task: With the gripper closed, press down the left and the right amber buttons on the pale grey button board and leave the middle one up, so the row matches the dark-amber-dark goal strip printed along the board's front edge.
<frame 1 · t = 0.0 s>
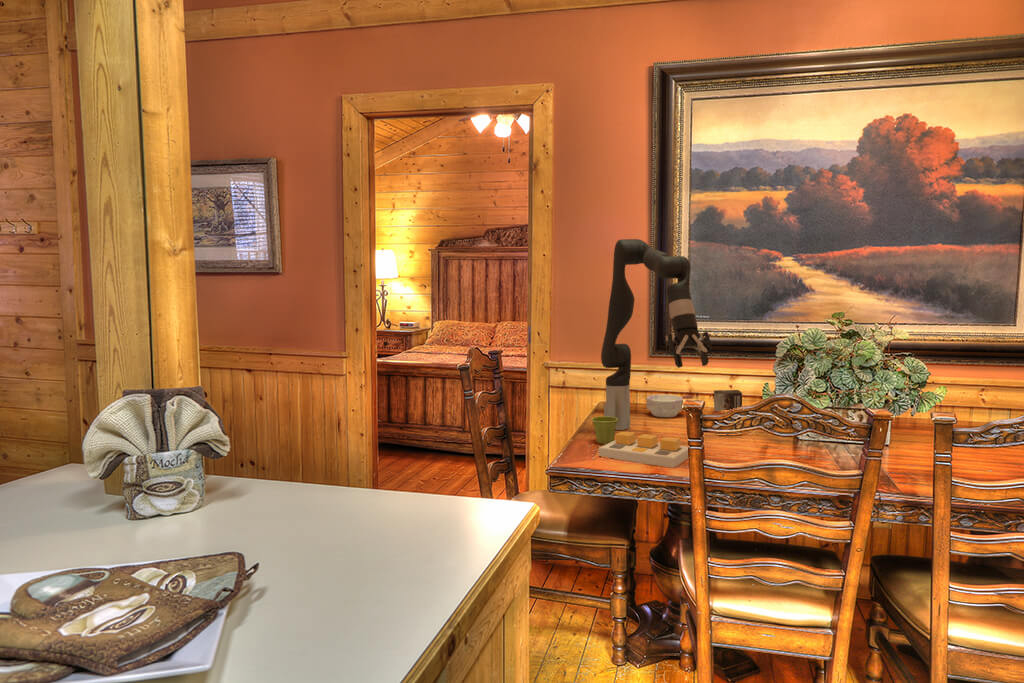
hand: (692, 366, 201), 31 cm above the table, tool tilted 20°, fingers open, 8 cm apart
coffee box: (728, 434, 244), on the table
light grey bowl: (664, 416, 279), on the table
button right: (670, 443, 213), point 5 cm above the table, slide at 0.0 cm
button left: (625, 438, 223), point 5 cm above the table, slide at 0.0 cm
plant pot: (605, 443, 236), on the table
button board: (645, 456, 217), on the table
button middle: (647, 440, 218), point 5 cm above the table, slide at 0.0 cm
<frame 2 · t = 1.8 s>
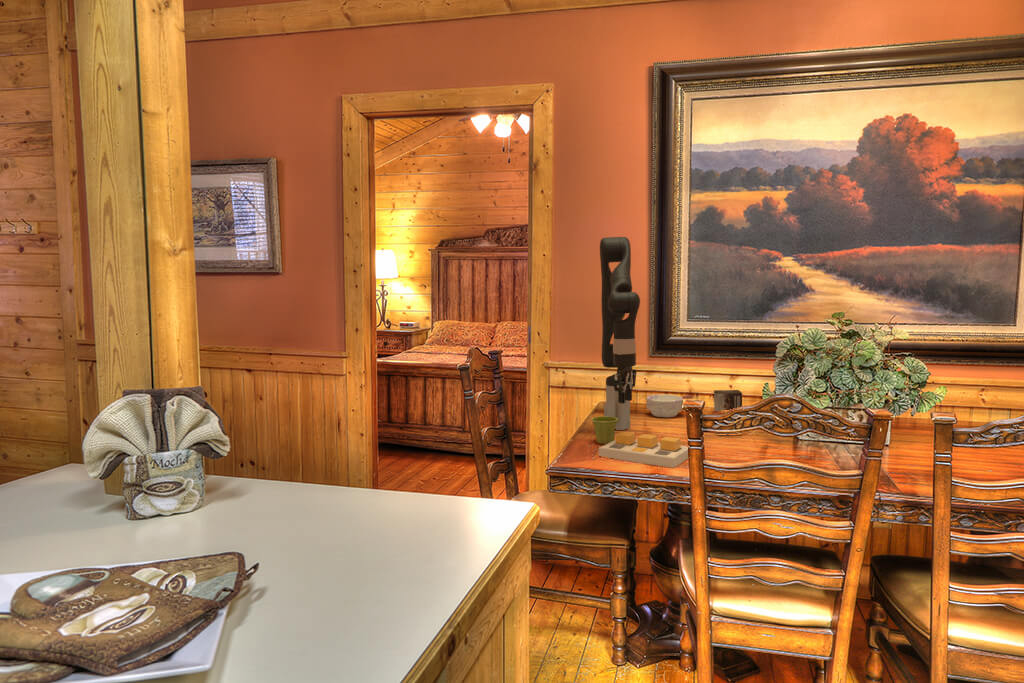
hand: (625, 401, 221), 17 cm above the table, tool pointing down, fingers open, 4 cm apart
nothing on the table moved.
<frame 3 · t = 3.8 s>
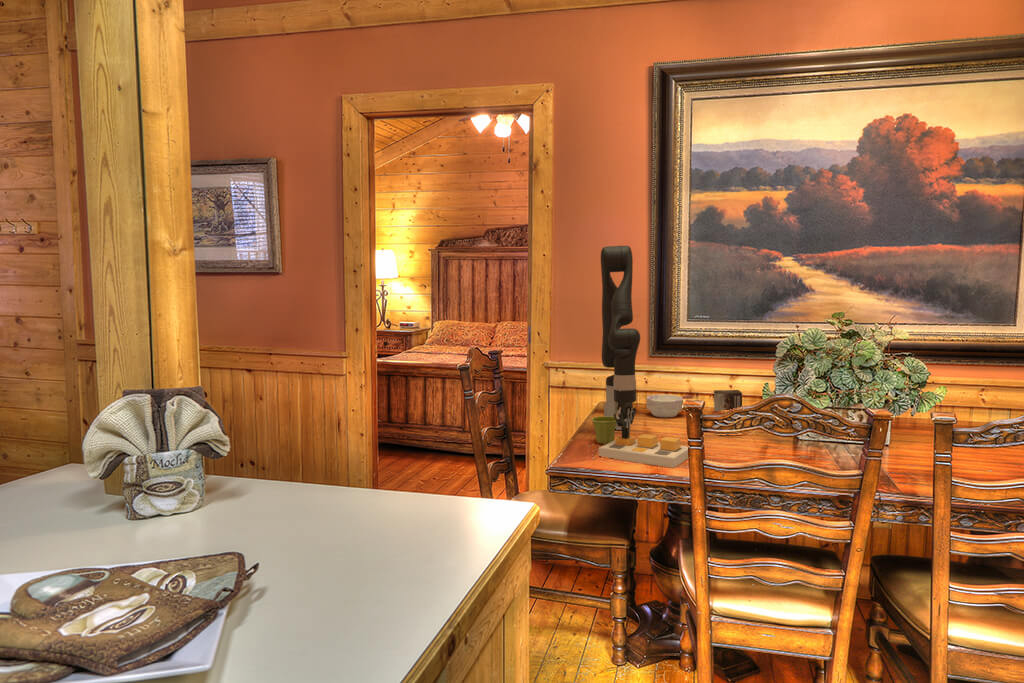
hand: (625, 437, 222), 5 cm above the table, tool pointing down, fingers closed
button left: (625, 442, 223), point 3 cm above the table, slide at 1.5 cm, touching gripper
everything else where it was.
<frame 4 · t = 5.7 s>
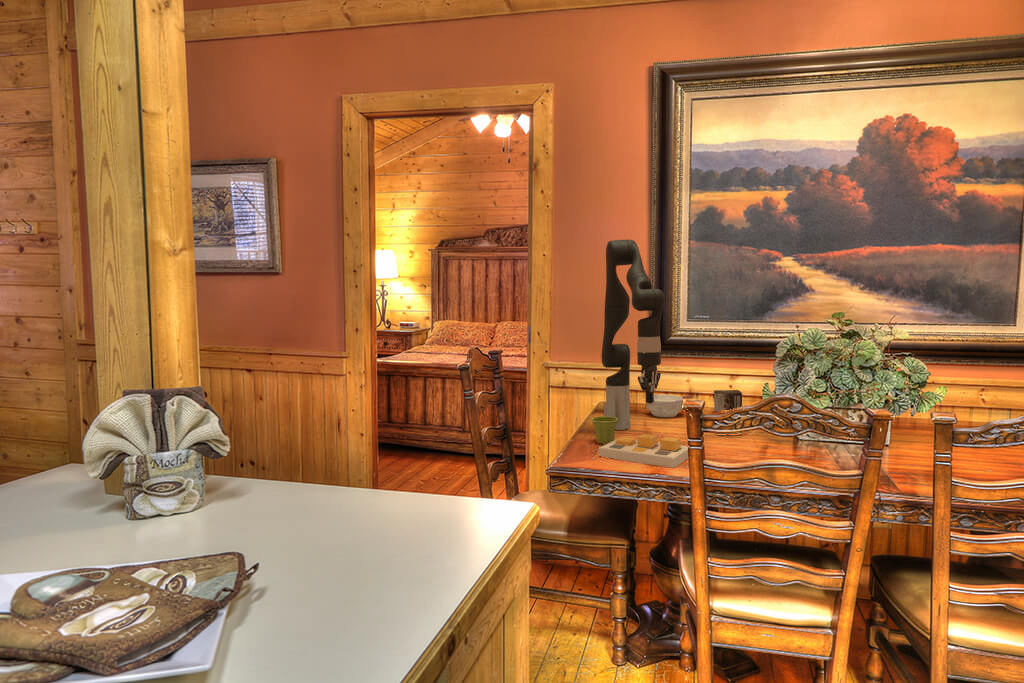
hand: (649, 402, 215), 18 cm above the table, tool pointing down, fingers closed
button left: (625, 443, 223), point 3 cm above the table, slide at 2.0 cm
everything else where it was.
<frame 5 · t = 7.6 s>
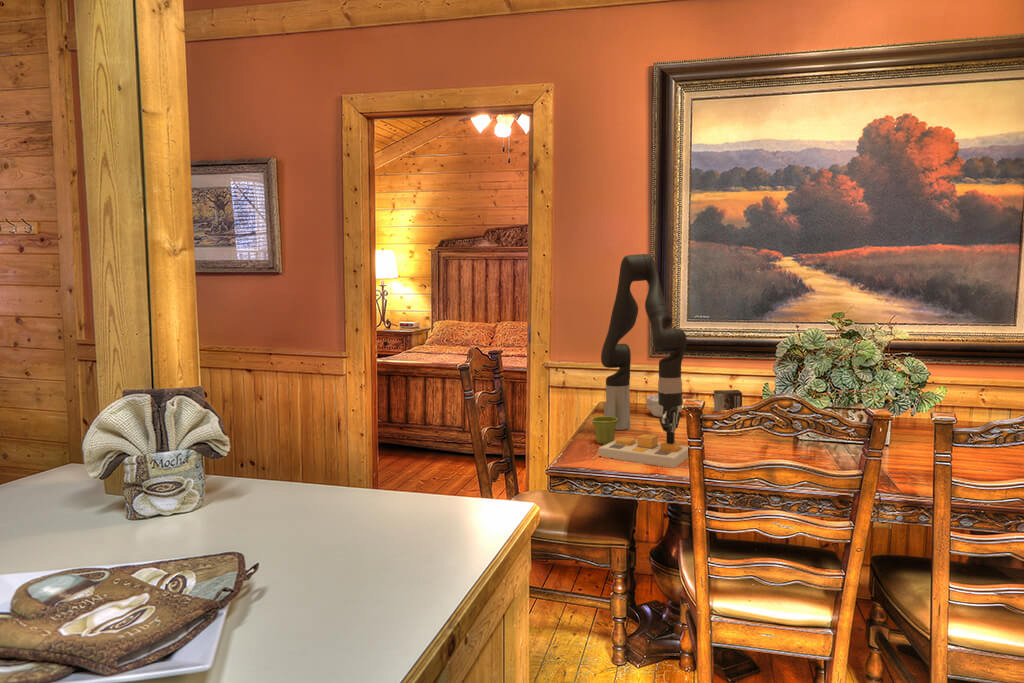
hand: (670, 443, 213), 5 cm above the table, tool pointing down, fingers closed
button right: (670, 447, 213), point 4 cm above the table, slide at 1.3 cm, touching gripper
everything else where it was.
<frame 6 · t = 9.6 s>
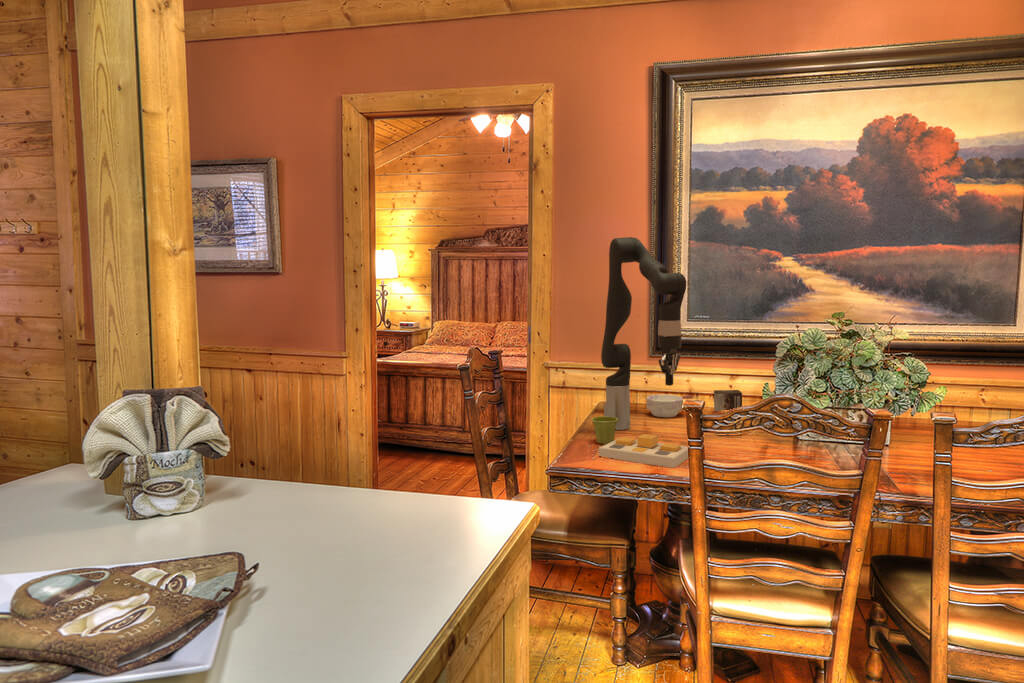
hand: (669, 385, 219), 23 cm above the table, tool pointing down, fingers closed
button right: (670, 449, 213), point 3 cm above the table, slide at 2.0 cm
everything else where it was.
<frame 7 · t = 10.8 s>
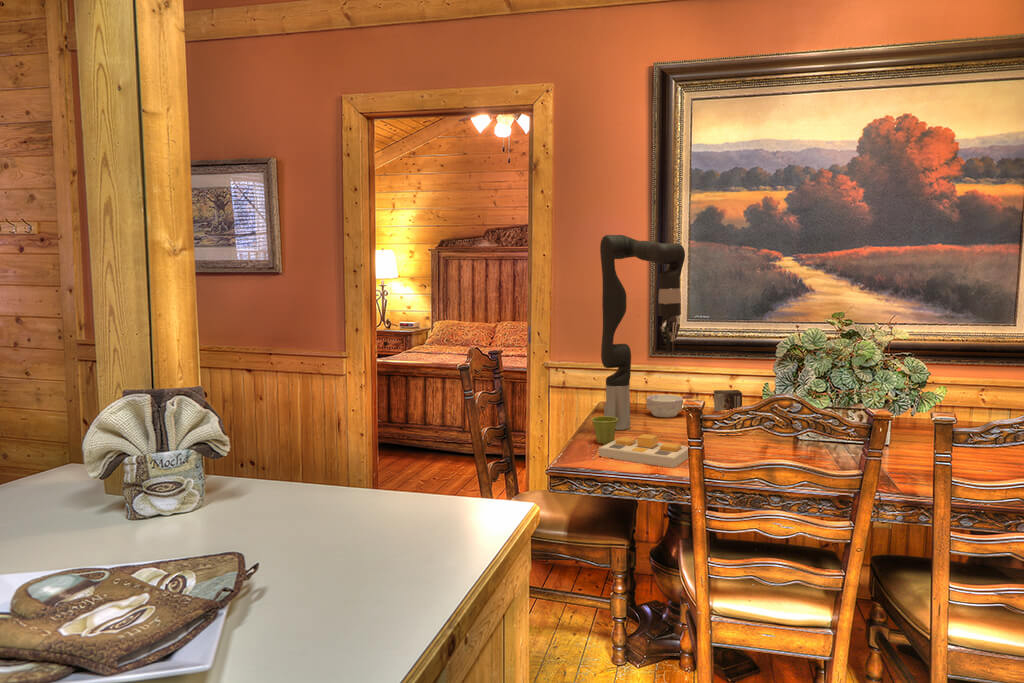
hand: (669, 352, 226), 33 cm above the table, tool pointing down, fingers closed
nothing on the table moved.
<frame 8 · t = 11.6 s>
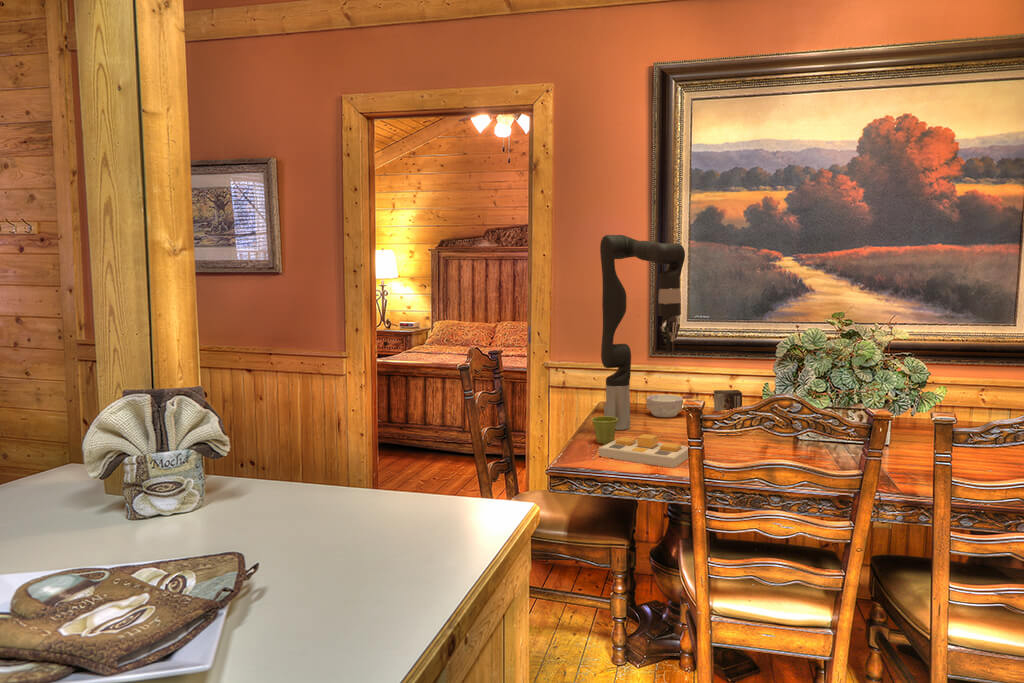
hand: (669, 352, 226), 33 cm above the table, tool pointing down, fingers closed
nothing on the table moved.
at the end: button left slide at 2.0 cm; button right slide at 2.0 cm; button middle slide at 0.0 cm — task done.
